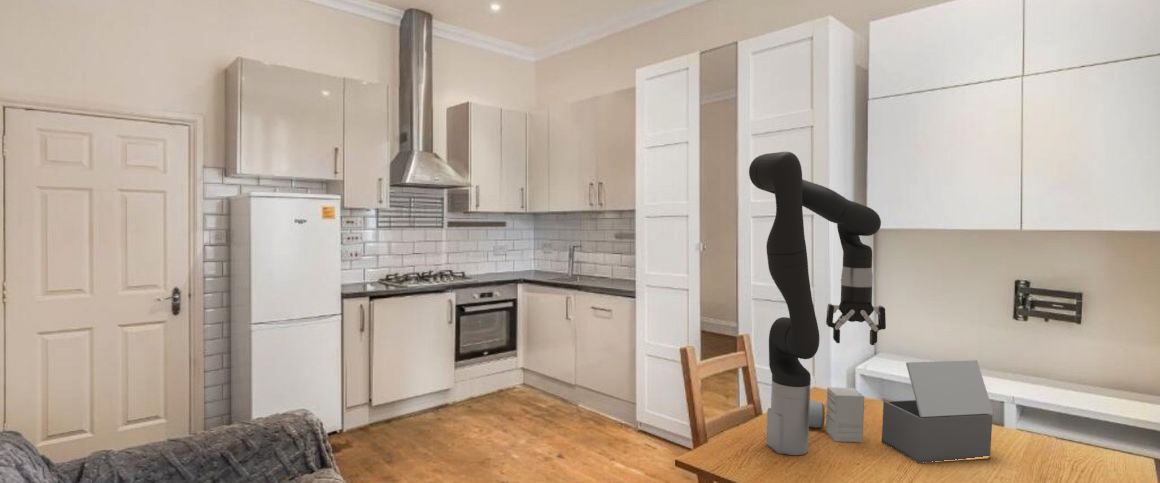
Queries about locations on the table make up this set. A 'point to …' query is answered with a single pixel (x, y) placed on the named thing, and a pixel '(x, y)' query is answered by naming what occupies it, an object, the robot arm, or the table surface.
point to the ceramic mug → (816, 414)
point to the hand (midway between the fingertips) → (854, 343)
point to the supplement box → (845, 414)
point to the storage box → (935, 433)
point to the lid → (949, 388)
